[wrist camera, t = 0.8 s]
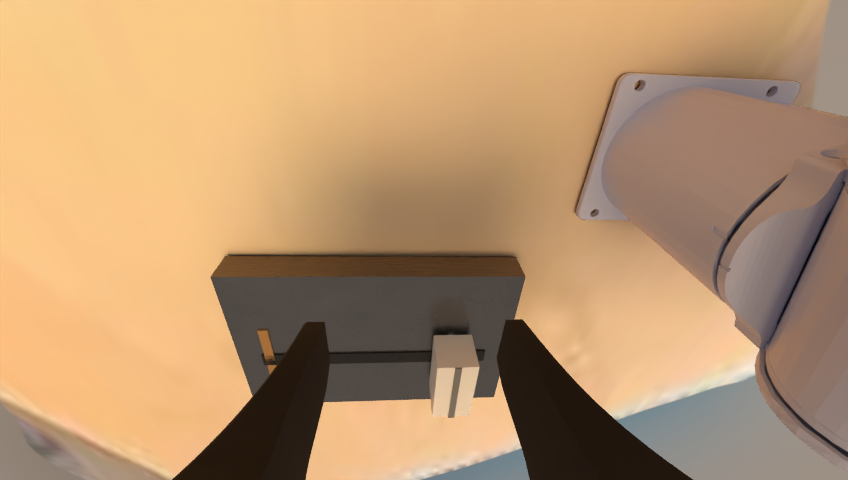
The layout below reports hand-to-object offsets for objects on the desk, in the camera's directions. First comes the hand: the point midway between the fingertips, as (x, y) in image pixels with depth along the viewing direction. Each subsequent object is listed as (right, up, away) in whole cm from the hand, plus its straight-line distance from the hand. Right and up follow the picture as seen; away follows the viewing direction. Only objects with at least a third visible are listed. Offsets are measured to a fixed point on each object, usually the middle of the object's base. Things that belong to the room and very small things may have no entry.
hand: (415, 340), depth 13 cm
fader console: (-3, -2, +13) cm, 13 cm away
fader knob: (+2, -5, +12) cm, 13 cm away
